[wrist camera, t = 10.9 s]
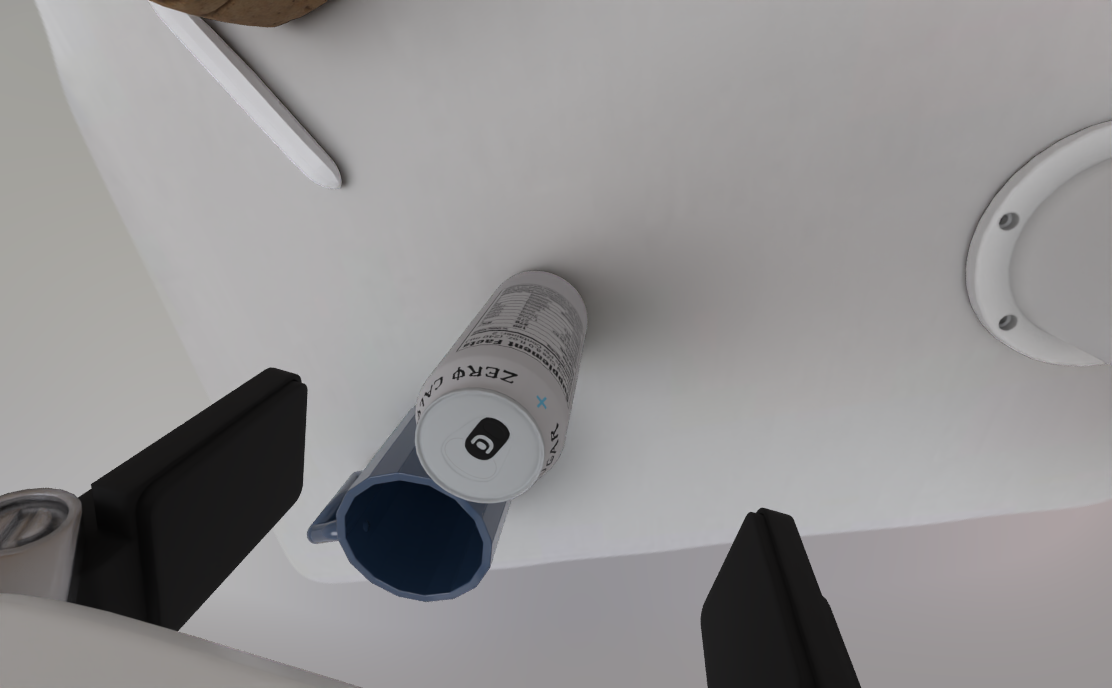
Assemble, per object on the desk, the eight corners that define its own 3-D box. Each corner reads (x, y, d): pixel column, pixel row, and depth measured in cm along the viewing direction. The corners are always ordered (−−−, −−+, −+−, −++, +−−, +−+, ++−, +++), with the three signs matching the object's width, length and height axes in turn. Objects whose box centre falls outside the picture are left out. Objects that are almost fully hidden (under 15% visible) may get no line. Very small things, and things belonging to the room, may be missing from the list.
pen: (163, -34, 29) (137, -43, 27) (354, 177, 32) (339, 180, 30) (148, -11, 29) (121, -18, 28) (337, 195, 32) (322, 199, 31)
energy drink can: (473, 321, 34) (370, 455, 20) (528, 246, 32) (453, 340, 18) (550, 376, 35) (500, 542, 21) (609, 307, 33) (595, 442, 19)
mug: (502, 378, 36) (460, 461, 27) (539, 485, 38) (511, 593, 30) (342, 410, 38) (256, 496, 29) (388, 509, 41) (322, 613, 32)
